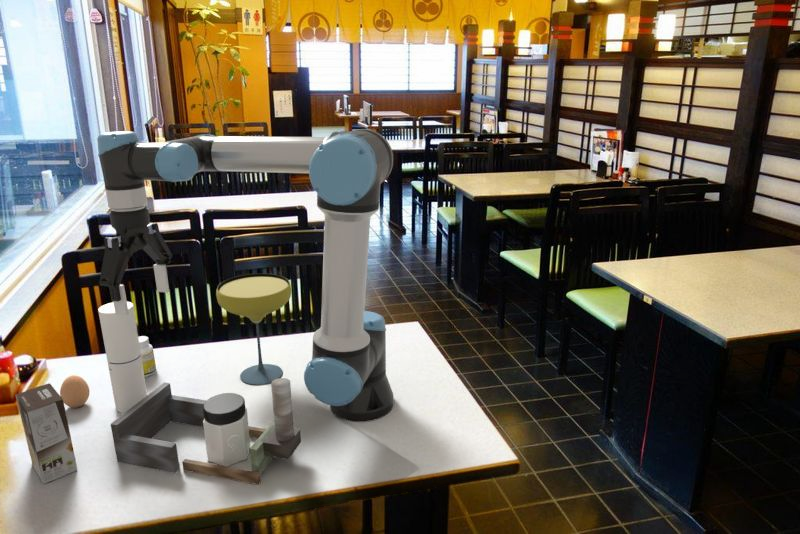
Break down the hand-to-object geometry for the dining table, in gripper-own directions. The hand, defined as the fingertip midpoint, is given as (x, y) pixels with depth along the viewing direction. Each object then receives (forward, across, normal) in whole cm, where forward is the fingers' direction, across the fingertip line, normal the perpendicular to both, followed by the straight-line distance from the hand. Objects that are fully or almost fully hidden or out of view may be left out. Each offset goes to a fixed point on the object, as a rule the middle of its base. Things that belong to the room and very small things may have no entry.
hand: (143, 302), depth 130 cm
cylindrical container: (+27, 0, -8) cm, 28 cm away
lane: (+27, +10, +19) cm, 35 cm away
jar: (+28, +10, +24) cm, 38 cm away
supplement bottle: (+27, -14, -15) cm, 34 cm away
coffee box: (+27, +24, -8) cm, 37 cm away
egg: (+27, +4, -20) cm, 34 cm away
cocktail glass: (+28, -22, +14) cm, 38 cm away
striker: (+27, +10, +36) cm, 46 cm away
